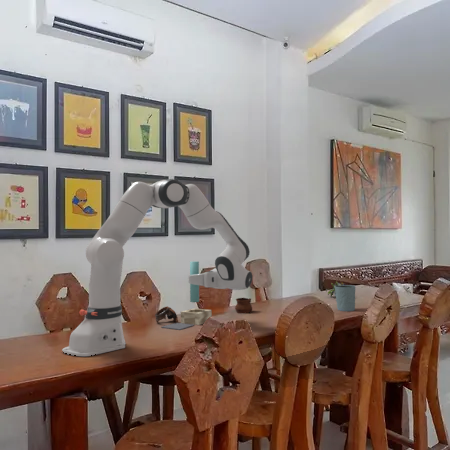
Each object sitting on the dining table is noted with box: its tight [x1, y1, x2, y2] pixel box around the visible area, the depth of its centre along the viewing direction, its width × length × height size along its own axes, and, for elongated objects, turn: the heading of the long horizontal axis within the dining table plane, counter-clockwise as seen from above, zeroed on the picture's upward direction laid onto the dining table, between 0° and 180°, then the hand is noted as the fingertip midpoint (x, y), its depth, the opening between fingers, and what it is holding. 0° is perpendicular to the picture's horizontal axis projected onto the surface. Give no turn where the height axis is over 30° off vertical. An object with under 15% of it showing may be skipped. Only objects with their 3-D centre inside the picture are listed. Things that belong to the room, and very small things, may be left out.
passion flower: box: [325, 281, 346, 298], centre depth 269 cm, size 11×11×12 cm
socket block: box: [180, 307, 213, 326], centre depth 204 cm, size 10×10×5 cm
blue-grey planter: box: [335, 284, 356, 312], centre depth 228 cm, size 10×10×12 cm
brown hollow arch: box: [154, 306, 179, 324], centre depth 205 cm, size 12×10×8 cm
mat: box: [160, 322, 195, 331], centre depth 194 cm, size 10×10×1 cm
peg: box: [189, 261, 200, 303], centre depth 204 cm, size 4×4×18 cm
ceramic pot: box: [234, 297, 253, 314], centre depth 227 cm, size 18×18×7 cm
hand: (192, 277), depth 205 cm, fingers closed on peg, 4 cm apart
